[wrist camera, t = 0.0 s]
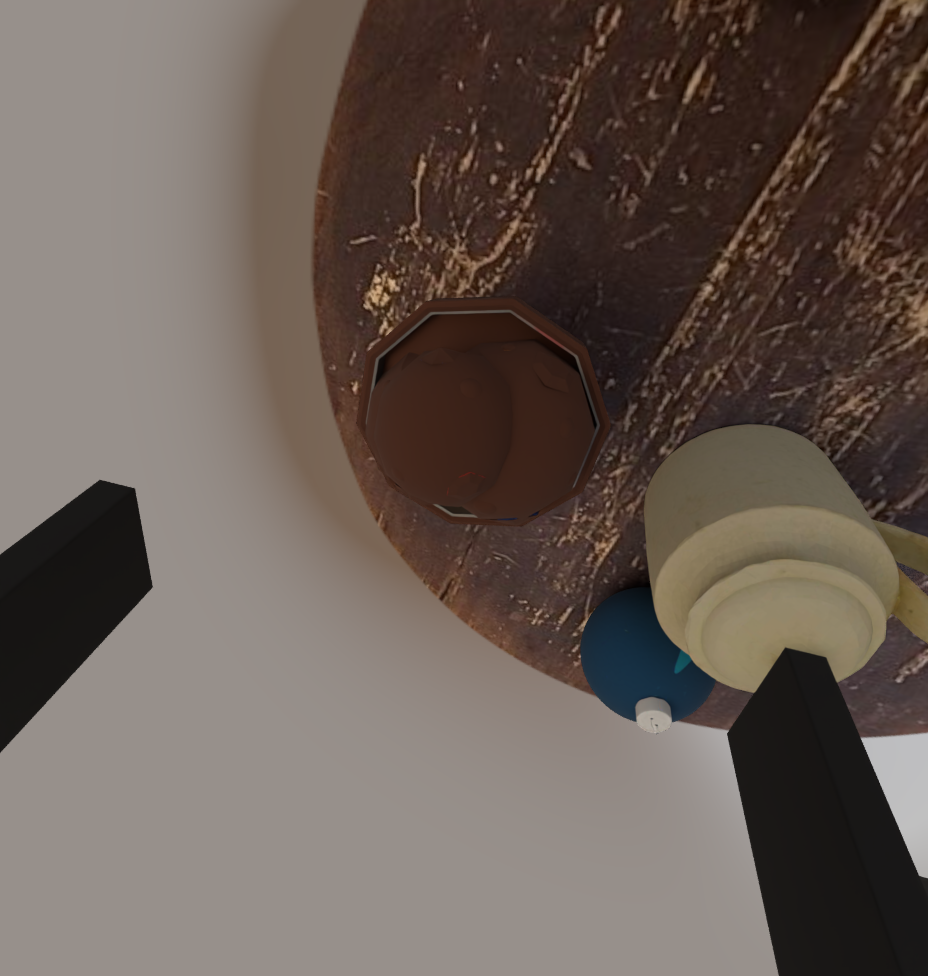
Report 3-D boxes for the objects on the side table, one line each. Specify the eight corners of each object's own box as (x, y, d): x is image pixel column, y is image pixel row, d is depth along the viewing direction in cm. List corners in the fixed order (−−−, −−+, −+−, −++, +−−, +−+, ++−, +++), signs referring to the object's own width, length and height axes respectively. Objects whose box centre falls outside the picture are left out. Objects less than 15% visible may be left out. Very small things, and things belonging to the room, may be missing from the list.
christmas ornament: (728, 628, 41) (762, 759, 33) (617, 664, 45) (623, 790, 37) (672, 542, 38) (694, 662, 30) (559, 587, 42) (550, 705, 34)
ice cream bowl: (398, 410, 37) (299, 563, 24) (435, 221, 31) (326, 297, 18) (564, 460, 37) (548, 640, 24) (634, 279, 30) (662, 397, 18)
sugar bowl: (887, 355, 30) (1095, 529, 18) (937, 519, 34) (1133, 753, 22) (611, 467, 36) (621, 655, 24) (681, 595, 40) (721, 812, 28)
